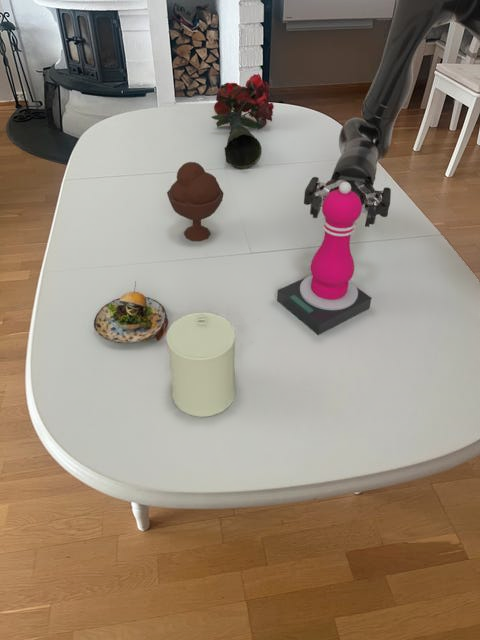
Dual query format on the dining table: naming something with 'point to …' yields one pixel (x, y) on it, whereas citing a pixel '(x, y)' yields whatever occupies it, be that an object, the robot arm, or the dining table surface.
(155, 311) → the burger
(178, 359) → the can
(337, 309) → the kitchen scale
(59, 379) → the dining table surface
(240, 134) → the red flower bouquet
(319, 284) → the pepper mill
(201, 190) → the ice cream bowl
